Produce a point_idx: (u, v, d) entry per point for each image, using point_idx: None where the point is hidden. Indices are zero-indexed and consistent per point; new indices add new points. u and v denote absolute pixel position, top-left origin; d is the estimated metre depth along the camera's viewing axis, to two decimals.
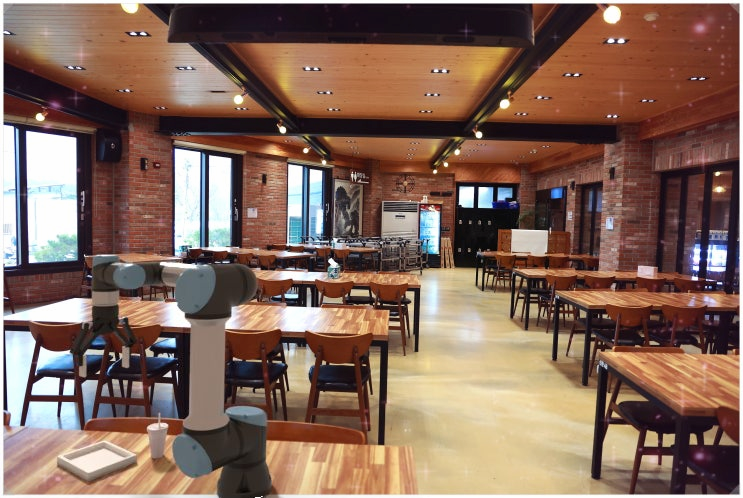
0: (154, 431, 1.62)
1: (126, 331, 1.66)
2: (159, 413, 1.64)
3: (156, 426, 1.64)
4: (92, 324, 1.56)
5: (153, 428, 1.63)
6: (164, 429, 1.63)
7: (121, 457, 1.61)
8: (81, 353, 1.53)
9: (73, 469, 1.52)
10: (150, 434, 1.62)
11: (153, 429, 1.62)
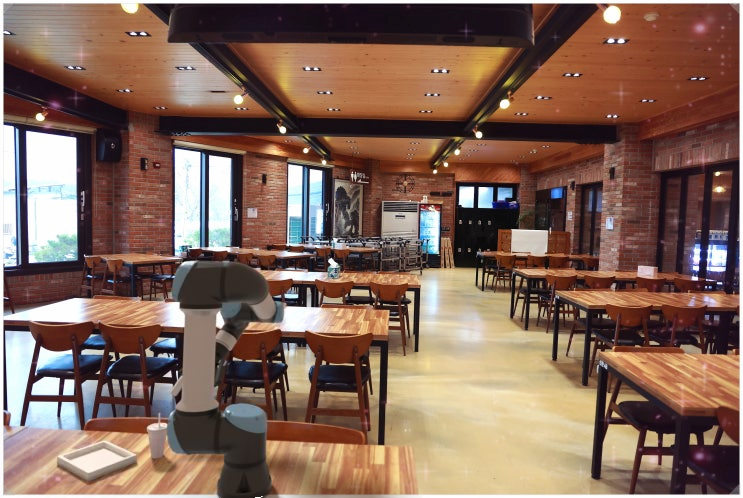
0: (154, 431, 1.62)
1: None
2: (159, 413, 1.64)
3: (156, 426, 1.64)
4: None
5: (153, 428, 1.63)
6: (164, 429, 1.63)
7: (121, 457, 1.61)
8: (181, 373, 1.81)
9: (73, 469, 1.52)
10: (150, 434, 1.62)
11: (153, 429, 1.62)
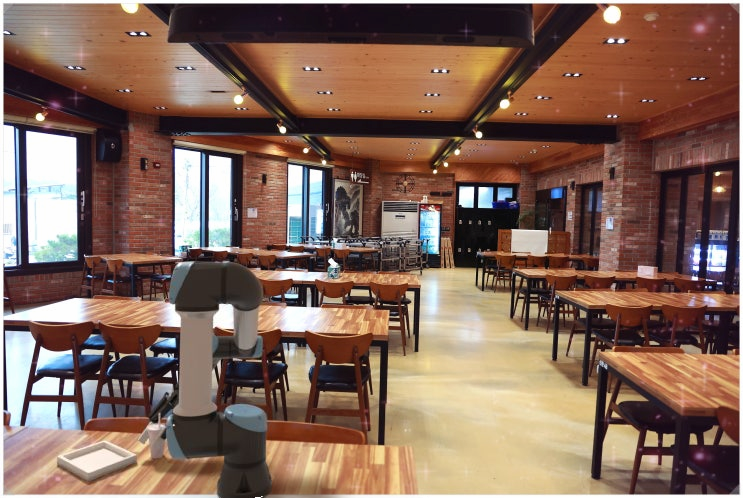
0: (154, 431, 1.62)
1: None
2: (159, 413, 1.64)
3: (156, 426, 1.64)
4: (171, 394, 1.73)
5: (153, 428, 1.63)
6: None
7: (121, 457, 1.61)
8: (151, 418, 1.68)
9: (73, 469, 1.52)
10: (150, 434, 1.62)
11: (153, 429, 1.62)
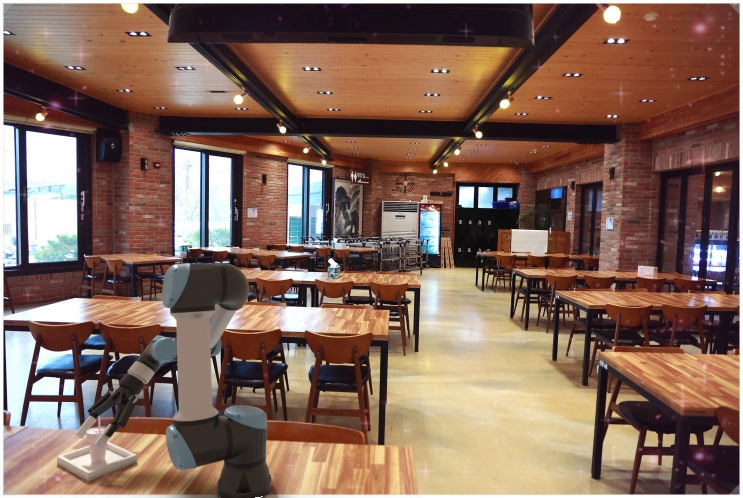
0: (93, 435, 1.55)
1: None
2: (99, 416, 1.58)
3: (96, 430, 1.58)
4: None
5: (92, 432, 1.57)
6: None
7: (121, 457, 1.61)
8: (90, 412, 1.63)
9: (73, 469, 1.52)
10: (89, 438, 1.56)
11: (92, 433, 1.56)
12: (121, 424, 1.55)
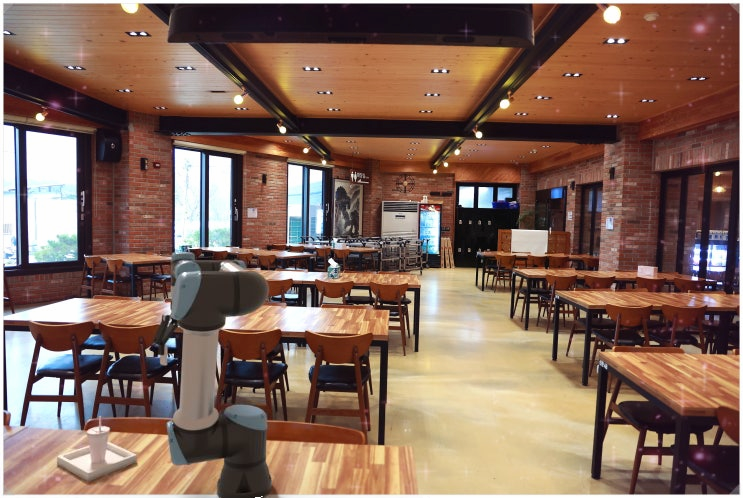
0: (93, 435, 1.55)
1: None
2: (100, 416, 1.58)
3: (96, 430, 1.58)
4: (172, 316, 1.69)
5: (93, 432, 1.57)
6: (104, 433, 1.57)
7: (121, 457, 1.61)
8: (163, 343, 1.66)
9: (73, 469, 1.52)
10: (89, 438, 1.56)
11: (93, 433, 1.56)
12: None
